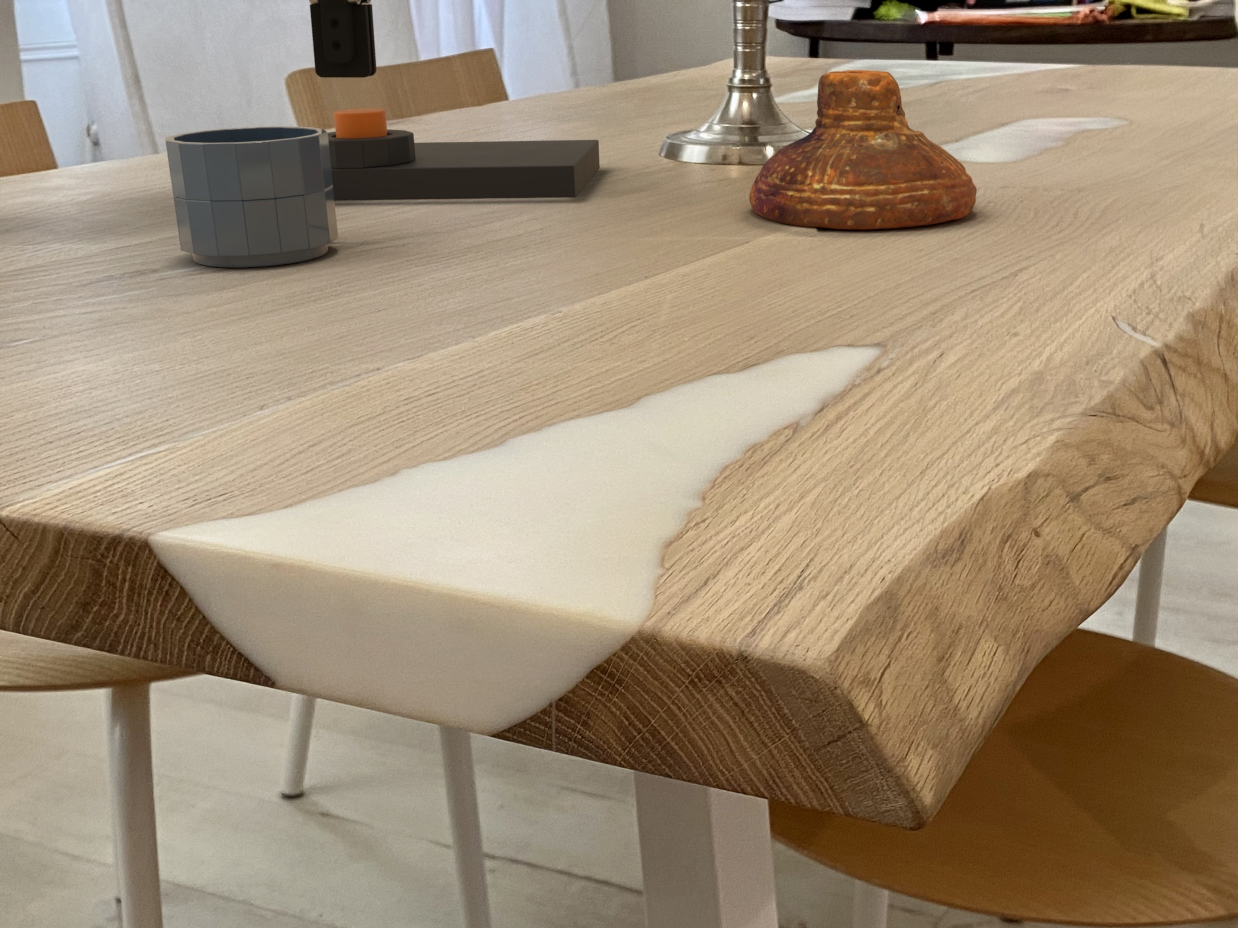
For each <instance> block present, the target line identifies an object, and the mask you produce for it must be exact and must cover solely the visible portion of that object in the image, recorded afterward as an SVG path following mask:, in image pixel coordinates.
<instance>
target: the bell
mask: <svg viewBox="0 0 1238 928" xmlns="http://www.w3.org/2000/svg"><path fill="white" fill-rule="evenodd" d="M816 98H817V99H816V107H817V110H816V115H817V118H816V119H815V122H814V124H815V126H814V128H813V130H812V131H811V132H810V133H809V134H807V135H805V136H804V137H802V138H800V139H797V140H794V141H793V142H790V143H789V144H787V145H785V146H784V147H783V148H780V149H779V150H778V151H777V152H775V153H774V154H773V155H771V156H770V157H769V158H768V159H767V160H766V161H765V163H764V164H763V165H762V167H761V168H760V171H759V172H758V173H757V175H756V177H755V179H754V181H753V183H752V184H751V188H750V190H749V198H748V199H749V200H748V201H749V203H750V206H751V208H752V210H753V211H754V212H755V213H756V214H757V215H759V216H761V217H763V218H764V219H766V220H769V221H773V222H777V223H780V224H783V225H785V224H786V225H788V226H789V225H791V226H796V227H806V228H818V229H819V228H820V229H831V230H833V229H834V230H879V229H883V230H885V229H900V228H913V227H920V226H929V225H936V224H939V223H940V224H941V223H946V222H950V221H954V220H960V219H962V218H963V217H966V216H967V215H969V214H971V212H972V211H973V209H974V207H975V205H976V202H977V199H976V198H977V191H978V189H977V186H976V185H975V183H974V182H973V178H972V176H971V175H970V174H969V173H968V172H967V170H966V167H965V166H964V165H963V164H962V163H961V161H959V160H958V159H957V158H956V157H955V156H953V155H952V154H951V153H950V152H948V151H947V150H946V149H944V148H943V147H942V146H940V145H938V144H936V143H935V142H933V141H931V140H930V139H928V137H927V136H926V135H925V134H924V132H922V131H920V130H914V129H913V128H911V127H910V126H909V123H908V120H907V118H906V113H905V110H904V108H903V106H902V105H903V104H902V102H903V101H902V95H901V90H900V86H899V84H898V82H897V80H896V79H895V77H894V76H893V74H891V72H889V71H883V70H870V69H869V70H867V69H866V70H865V69H847V70H835V71H829V72H827V73H822V74H821V76H820V77H819V80H818V85H817V97H816Z"/></svg>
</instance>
